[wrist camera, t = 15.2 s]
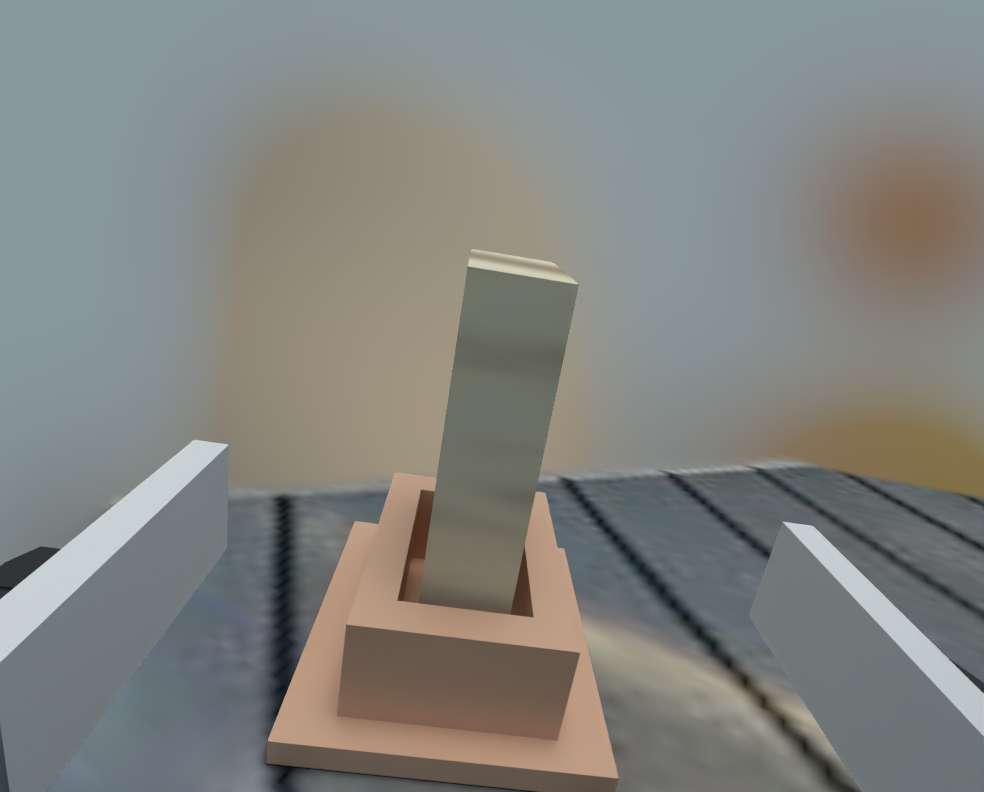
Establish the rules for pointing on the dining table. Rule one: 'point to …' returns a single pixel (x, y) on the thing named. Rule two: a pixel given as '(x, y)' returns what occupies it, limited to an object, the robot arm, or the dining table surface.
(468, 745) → the pink slotted socket
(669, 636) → the dining table surface
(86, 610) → the robot arm
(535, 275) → the mottled beige block
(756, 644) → the dining table surface
